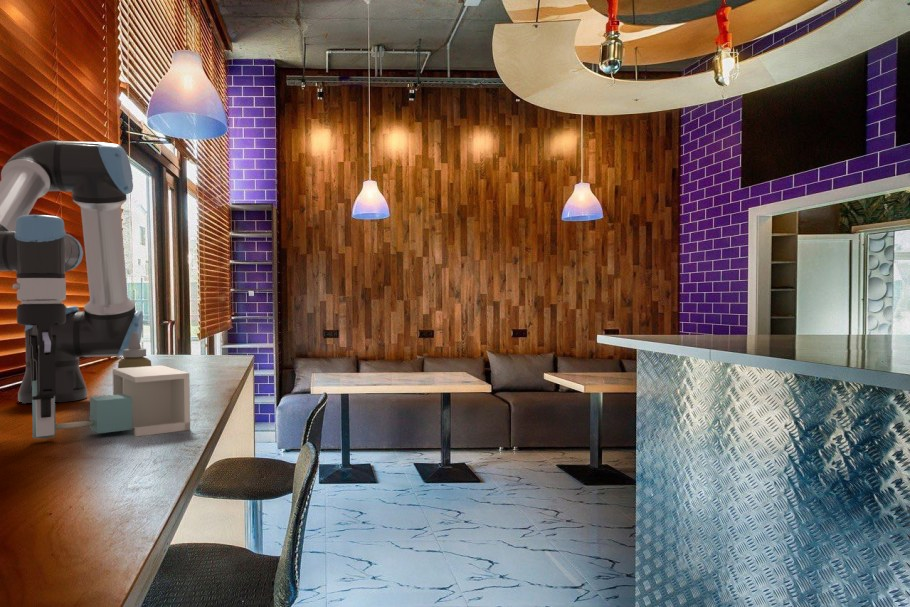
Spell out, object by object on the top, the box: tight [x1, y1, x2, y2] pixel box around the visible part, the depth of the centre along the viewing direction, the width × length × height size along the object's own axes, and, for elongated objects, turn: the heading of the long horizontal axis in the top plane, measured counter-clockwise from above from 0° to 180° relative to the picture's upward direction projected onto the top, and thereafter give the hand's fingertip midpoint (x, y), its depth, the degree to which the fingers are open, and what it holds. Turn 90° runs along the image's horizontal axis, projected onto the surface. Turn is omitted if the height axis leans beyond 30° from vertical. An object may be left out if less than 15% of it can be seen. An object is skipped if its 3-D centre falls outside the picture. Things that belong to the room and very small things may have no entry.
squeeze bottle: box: [117, 333, 152, 368], centre depth 152 cm, size 8×8×18 cm
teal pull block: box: [31, 380, 133, 440], centre depth 128 cm, size 6×16×10 cm, turn 129°
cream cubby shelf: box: [112, 364, 191, 437], centre depth 139 cm, size 19×10×11 cm, turn 37°
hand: (43, 433), depth 124 cm, fingers closed on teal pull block, 3 cm apart
